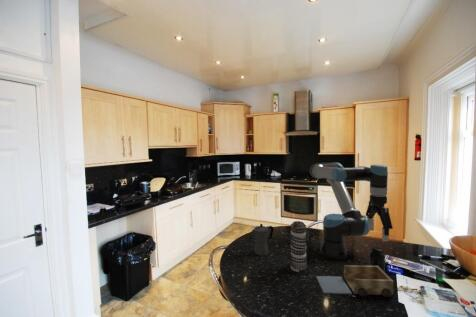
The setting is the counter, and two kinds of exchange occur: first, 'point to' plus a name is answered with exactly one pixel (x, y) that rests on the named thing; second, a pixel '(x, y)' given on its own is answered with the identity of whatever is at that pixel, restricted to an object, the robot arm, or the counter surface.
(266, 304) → the counter surface
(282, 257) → the counter surface
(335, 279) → the grey square plate
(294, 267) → the decorative candle
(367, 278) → the truck bed
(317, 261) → the counter surface
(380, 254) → the supplement bottle
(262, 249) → the coffeepot
